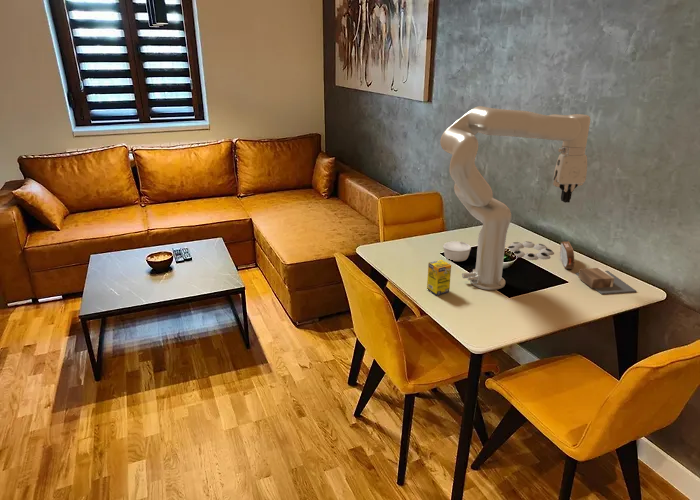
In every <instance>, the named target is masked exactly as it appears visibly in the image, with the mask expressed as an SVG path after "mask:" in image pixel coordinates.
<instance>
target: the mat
mask: <svg viewBox="0 0 700 500" xmlns="http://www.w3.org/2000/svg"><path fill="white" fill-rule="evenodd" d="M604 271H605V272H607V273H608V274H609V275H611V276H612V277H614V283H613V287H603V288H593V289H594V290H595V291H596V292H598V293H599V294H600V295H615V294H616V295H617V294H631V293H637V290H636V289H634V287H632V286H630V285H629V284H628V283H626V282H625V281H623V280H622V279H620V278H619V277H618V276H616V275H615V274H613V273H612V272H610V271H609V270H604ZM575 275H576V276H577V277H578V276H579V272H576V273H575Z"/></svg>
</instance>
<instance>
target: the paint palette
mask: <svg viewBox="0 0 700 500" xmlns="http://www.w3.org/2000/svg"><path fill="white" fill-rule="evenodd" d="M506 248H507V249H509V250H510V251H512V252H513V253H514V254H515V255H516V256H518V257H517V258H524V259H525V260H529V261H536V260H540V259H541V260H549V259H551V256H552V255H555V252H554V251H553V250H552V249H550V248H548V247H547V245H545V244H543V243H536V244H535V243H534V242H532V241H524V242H522V243H521V242H520V241H519V242H518V241H515V242H511V243H510V245H509V246H507V247H506ZM524 248H528V249H530V248H531V249H534V250H537V251H538V252H537V253H536V254H535V253H533V252H528V253H525V252H524V251H522V250H520V249H524ZM512 252H511V253H512ZM531 256H532V257H531Z"/></svg>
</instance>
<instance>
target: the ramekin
mask: <svg viewBox="0 0 700 500" xmlns="http://www.w3.org/2000/svg"><path fill="white" fill-rule="evenodd" d="M442 247H443V251H444V252H443V255H444V256H445V259H447V260H448V259H450V260H449V261H451V260H453V261H452V262H464V261H466V260H467V259H468V258H469V256H470V252H471V250H472V247H471V245H470V244H468V243H466V242H465V241H464V242H463V241H457V240H452V241H447V242H445V243H443V246H442Z"/></svg>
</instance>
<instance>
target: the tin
mask: <svg viewBox="0 0 700 500" xmlns="http://www.w3.org/2000/svg"><path fill="white" fill-rule="evenodd" d="M559 257H560V259H559V260H560V261H561V263H562V265H563V267H564V269H571V270H572V269H574V266H575V252H574V248H573V246H572V245H571V243H570V241H568V240H567V241H561V242H560V251H559Z"/></svg>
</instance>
